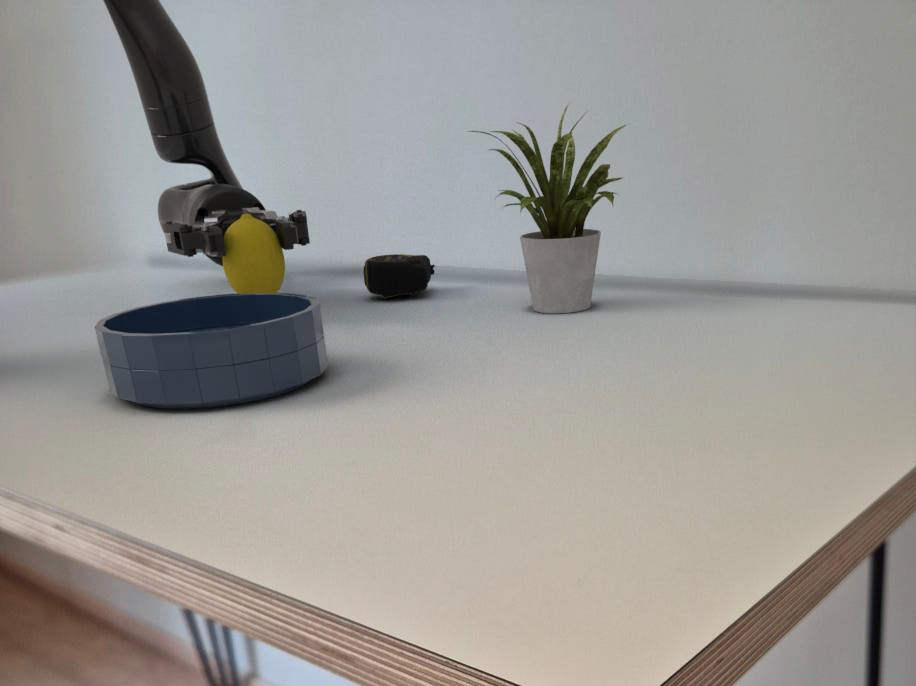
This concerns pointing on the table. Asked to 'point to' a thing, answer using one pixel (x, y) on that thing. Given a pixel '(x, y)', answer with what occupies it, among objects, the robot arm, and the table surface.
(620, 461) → the table surface
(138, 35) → the robot arm
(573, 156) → the house plant
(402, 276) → the tape measure
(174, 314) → the bowl
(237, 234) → the lemon
